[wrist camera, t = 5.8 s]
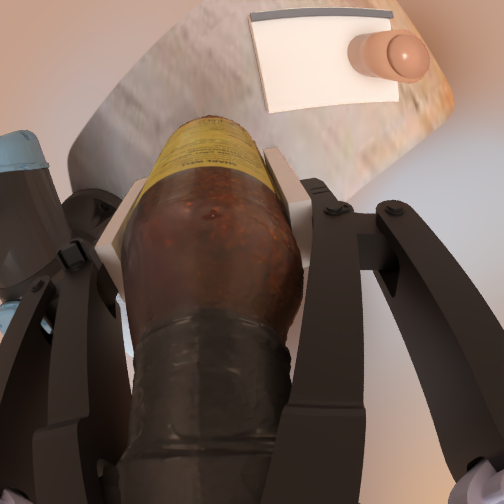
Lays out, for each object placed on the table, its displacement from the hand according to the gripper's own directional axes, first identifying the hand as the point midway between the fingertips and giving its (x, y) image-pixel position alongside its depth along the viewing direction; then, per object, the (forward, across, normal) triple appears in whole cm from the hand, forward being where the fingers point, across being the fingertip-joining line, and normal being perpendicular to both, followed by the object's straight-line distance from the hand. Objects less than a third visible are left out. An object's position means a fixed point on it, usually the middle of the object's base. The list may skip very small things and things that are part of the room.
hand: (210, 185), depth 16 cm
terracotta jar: (+22, +20, +6) cm, 30 cm away
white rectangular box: (+24, +15, +6) cm, 29 cm away
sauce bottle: (+5, 0, 0) cm, 5 cm away
